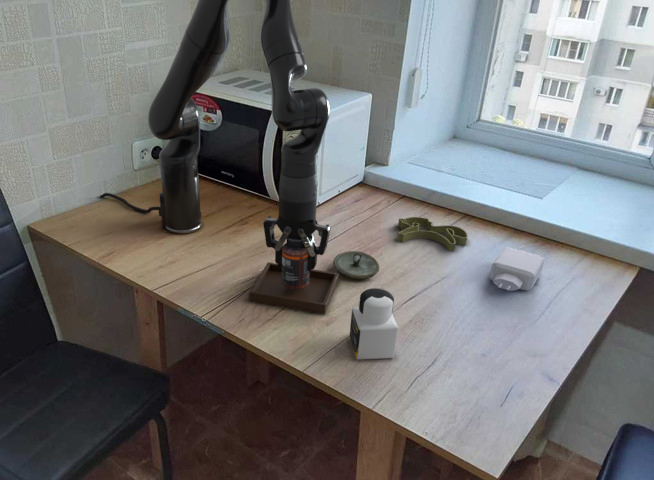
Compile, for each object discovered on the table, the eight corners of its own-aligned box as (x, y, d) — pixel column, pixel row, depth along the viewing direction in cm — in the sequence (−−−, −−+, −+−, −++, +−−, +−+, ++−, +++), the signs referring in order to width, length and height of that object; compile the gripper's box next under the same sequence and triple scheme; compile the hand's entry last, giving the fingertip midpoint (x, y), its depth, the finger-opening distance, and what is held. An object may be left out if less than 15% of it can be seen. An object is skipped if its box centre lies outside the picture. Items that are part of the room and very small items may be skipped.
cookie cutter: (389, 239, 154) (390, 232, 153) (400, 220, 163) (401, 213, 162) (462, 253, 148) (464, 246, 147) (469, 233, 157) (471, 226, 156)
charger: (479, 291, 133) (499, 263, 144) (522, 305, 129) (540, 275, 139) (483, 273, 131) (503, 245, 141) (527, 285, 126) (545, 257, 137)
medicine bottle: (348, 337, 118) (353, 284, 112) (385, 335, 119) (392, 283, 113) (356, 360, 112) (362, 306, 106) (394, 358, 113) (402, 304, 107)
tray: (249, 301, 129) (249, 292, 128) (267, 270, 140) (267, 262, 139) (324, 314, 125) (325, 305, 124) (338, 282, 136) (338, 273, 135)
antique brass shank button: (350, 261, 147) (346, 242, 145) (387, 263, 141) (384, 244, 139) (327, 281, 140) (323, 261, 138) (366, 285, 134) (362, 264, 132)
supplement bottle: (309, 277, 134) (311, 230, 128) (308, 291, 129) (310, 244, 123) (282, 275, 134) (283, 229, 128) (280, 289, 129) (281, 242, 123)
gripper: (337, 190, 122) (332, 264, 131) (268, 182, 125) (268, 254, 134) (329, 205, 116) (324, 281, 125) (257, 196, 119) (257, 270, 128)
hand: (295, 266), depth 129 cm, fingers closed on supplement bottle, 6 cm apart
